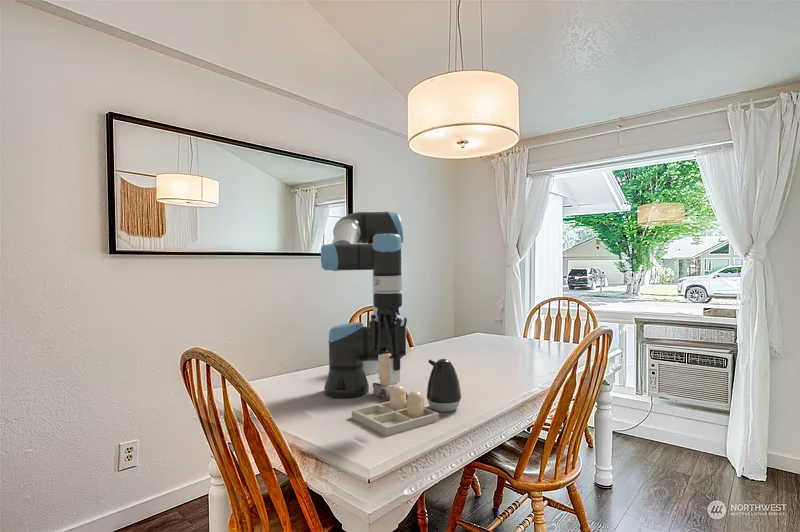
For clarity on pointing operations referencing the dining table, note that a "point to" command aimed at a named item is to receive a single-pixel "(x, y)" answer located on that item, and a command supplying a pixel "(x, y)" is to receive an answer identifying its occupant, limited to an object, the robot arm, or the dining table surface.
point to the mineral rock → (383, 391)
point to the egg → (385, 370)
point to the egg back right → (415, 405)
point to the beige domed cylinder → (397, 398)
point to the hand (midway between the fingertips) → (389, 380)
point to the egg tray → (391, 418)
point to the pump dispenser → (443, 387)
